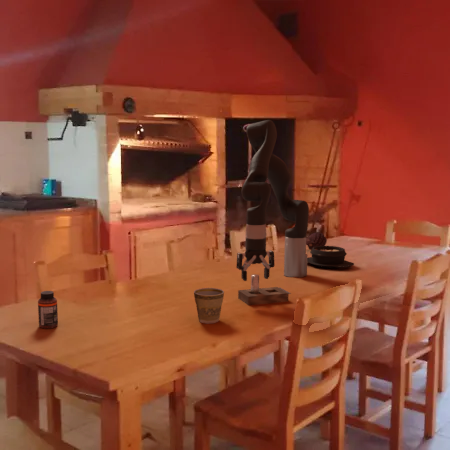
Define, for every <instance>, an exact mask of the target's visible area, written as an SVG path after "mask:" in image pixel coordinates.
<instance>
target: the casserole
mask: <svg viewBox="0 0 450 450" xmlns="http://www.w3.org/2000/svg"><path fill="white" fill-rule="evenodd" d="M347 254H348V253H347V252H346V249H345V248H344V247H340V246H335V245H325V246H317V247H313V248H312V250H310V255H311V257H308V256H307V264H311V265H314V266H315V267H318V268H323V269H337V268H348V267H353V266H354V265H355V263H354V262H352V261H348V260H345V257H346V255H347Z"/></svg>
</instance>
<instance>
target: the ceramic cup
mask: <svg viewBox="0 0 450 450" xmlns="http://www.w3.org/2000/svg"><path fill="white" fill-rule="evenodd" d="M224 294H225V291H224V290H222V289H221V288H215V287H204V288H203V287H202V288H198V289H195V290H194V291H193V297H194V301H195V305H196V311H197V317H198V320H199V322H200V323H201V324H202V323H203V324H205V325H207V324H209V325H210V324H216V323H218V322H219V321H220V316H221V311H222V306H223V301H224Z"/></svg>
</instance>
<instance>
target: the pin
mask: <svg viewBox="0 0 450 450" xmlns="http://www.w3.org/2000/svg"><path fill="white" fill-rule="evenodd" d="M259 288H260V274H251V275H250V289H251V294H259Z"/></svg>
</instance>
